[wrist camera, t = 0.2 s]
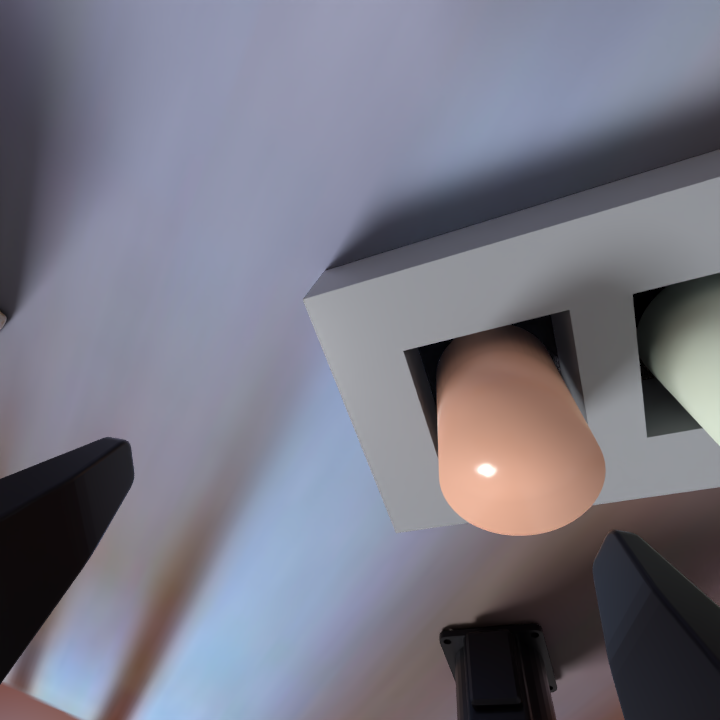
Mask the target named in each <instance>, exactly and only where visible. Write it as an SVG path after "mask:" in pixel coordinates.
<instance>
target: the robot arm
mask: <svg viewBox="0 0 720 720" xmlns="http://www.w3.org/2000/svg"><path fill="white" fill-rule="evenodd" d="M133 480H134V466H133V459H132V451H131V446H130V444H129V442H128V441H126V440H123V439H118V438H112V437H105V438H102V439H100V440H97V441H95V442H92V443H90V444H87V445H85V446H82V447H80V448H77V449H75V450H72V451H70V452H67V453H65V454H62V455H59V456H57V457H54V458H52V459H49V460H47V461H44V462H42V463H39V464H37V465H34V466H32V467H29V468H27V469H24V470H22V471H19V472H17V473H14V474H12V475H9V476H6V477H4V478H1V479H0V684H1V683H2V681H3V680H4V678H5V677H6V676H7V674H8V673H9V671H10V670H11V669H12V667H13V666H14V664H15V663H16V662H17V660H18V659H19V657H20V656H21V655H22V653H23V652H24V650H25V649H26V648H27V646H28V645H29V643H30V642H31V640H32V639H33V638H34V636H35V635H36V633H37V632H38V631H39V629H40V628H41V626H42V625H43V624H44V622H45V621H46V619H47V618H48V617H49V615H50V614H51V612H52V611H53V610H54V608H55V607H56V605H57V604H58V603H59V601H60V600H61V598H62V597H63V595H64V594H65V593H66V591H67V590H68V588H69V587H70V586H71V584H72V583H73V581H74V580H75V579H76V577H77V576H78V574H79V573H80V572H81V570H82V569H83V567H84V566H85V564H86V563H87V561H88V560H89V558H90V557H91V555H92V554H93V552H94V550H95V549H96V547H97V546H98V544H99V542H100V540H101V539H102V537H103V535H104V533H105V532H106V530H107V528H108V526H109V525H110V523H111V521H112V519H113V518H114V516H115V514H116V512H117V511H118V509H119V507H120V505H121V504H122V502H123V500H124V498H125V497H126V495H127V493H128V491H129V490H130V488H131V486H132V483H133ZM593 578H594V584H595V589H596V595H597V600H598V606H599V612H600V617H601V623H602V628H603V634H604V640H605V645H606V651H607V655H608V660H609V665H610V669H611V672H612V676H613V680H614V683H615V687H616V690H617V694H618V697H619V701H620V704H621V708H622V712H623V715H624V719H625V720H720V607H719V606H718V605H716V604H715V603H714V602H713V601H712V600H711V599H710V598H709V597H707V596H706V595H705V594H704V593H703V592H702V591H701V590H699V589H698V588H697V587H696V586H695V585H694V584H693V583H692V582H690V581H689V580H688V579H687V578H686V577H685V576H684V575H682V574H681V573H680V572H679V571H678V570H677V569H676V568H675V567H673V566H672V565H671V564H670V563H669V562H668V561H667V560H666V559H664V558H663V557H662V556H661V555H660V554H659V553H658V552H656V551H655V550H654V549H653V548H652V547H651V546H650V545H649V544H647V543H646V542H645V541H644V540H643V539H642V538H641V537H639V536H638V535H636V534H634V533H631V532H625V531H620V530H611V531H609V532H608V533H607V535H606V537H605V539H604V541H603V543H602V545H601V547H600V549H599V551H598V553H597V556H596V558H595V560H594V563H593ZM440 644H441V647H442V649H443V652H444V654H445V657H446V659H447V662H448V664H449V667H450V669H451V672H452V674H453V677H454V679H455V682H456V697H457V718H458V720H556V716H555V711H554V706H553V702H552V697H551V692H554V691H556V690H557V685H556V680H555V677H554V673H553V669H552V665H551V661H550V657H549V654H548V650H547V646H546V642H545V638H544V635H543V631H542V628H541V626H539V625H537V624H523V625H511V626H499V627H487V628H475V629H463V630H451V631H443V632H441V633H440Z"/></svg>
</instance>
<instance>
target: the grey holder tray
mask: <svg viewBox="0 0 720 720" xmlns="http://www.w3.org/2000/svg"><path fill="white" fill-rule="evenodd" d="M716 273H720V149H719V150H715V151H712V152H709V153H706V154H702V155H699V156H696V157H693V158H689V159H686V160H683V161H680V162H677V163H673V164H670V165H667V166H664V167H660V168H657V169H654V170H651V171H647V172H644V173H641V174H638V175H634V176H631V177H628V178H625V179H621V180H618V181H615V182H612V183H608V184H605V185H602V186H599V187H595V188H592V189H589V190H586V191H582V192H579V193H576V194H573V195H569V196H566V197H563V198H560V199H556V200H553V201H550V202H547V203H543V204H540V205H537V206H534V207H530V208H527V209H524V210H521V211H517V212H514V213H511V214H508V215H504V216H501V217H498V218H495V219H491V220H488V221H485V222H482V223H478V224H475V225H472V226H469V227H465V228H462V229H459V230H456V231H452V232H449V233H446V234H443V235H439V236H436V237H433V238H430V239H426V240H423V241H420V242H417V243H413V244H410V245H407V246H404V247H400V248H397V249H394V250H391V251H387V252H384V253H381V254H378V255H374V256H371V257H368V258H365V259H361V260H358V261H355V262H352V263H348V264H345V265H342V266H339V267H335V268H332V269H329V270H326V271H324V272H323V273H322V275H321V276H320V277H319V279H318V280H317V281H316V283H315V284H314V285H313V287H312V288H311V289H310V291H309V292H308V293H307V295H306V296H305V297H304V299H303V301H304V304H305V306H306V309H307V311H308V314H309V316H310V319H311V321H312V324H313V326H314V329H315V331H316V334H317V336H318V339H319V341H320V344H321V346H322V349H323V351H324V354H325V356H326V359H327V361H328V364H329V366H330V369H331V371H332V374H333V376H334V379H335V381H336V384H337V387H338V389H339V392H340V394H341V397H342V399H343V402H344V404H345V407H346V409H347V412H348V414H349V417H350V419H351V422H352V424H353V427H354V429H355V432H356V434H357V437H358V439H359V442H360V444H361V447H362V449H363V452H364V454H365V457H366V459H367V462H368V464H369V467H370V469H371V472H372V474H373V477H374V479H375V482H376V484H377V487H378V489H379V492H380V494H381V497H382V499H383V502H384V504H385V507H386V509H387V512H388V514H389V517H390V519H391V522H392V524H393V527H394V529H395V532H396V533H401V532H408V531H415V530H422V529H429V528H436V527H443V526H450V525H457V524H464V523H469V522H467V521H466V520H465V519H463V518H462V517H460V516H459V515H458V514H457V513H456V512H455V511H454V510H453V509H452V508H451V506H450V505H449V504H448V502H447V501H446V499H445V497H444V495H443V493H442V490H441V487H440V482H439V461H438V426H437V408H436V404H435V401H434V398H433V395H432V391H431V388H430V385H429V382H428V379H427V375H426V372H425V369H424V366H423V362H422V359H421V356H420V353H419V349H418V347H421V346H425V345H429V344H433V343H437V342H441V341H445V340H449V339H453V338H457V337H461V336H465V335H469V334H473V333H477V332H481V331H486V330H490V329H494V328H498V327H502V326H506V325H510V324H514V323H518V322H522V321H526V320H530V319H534V318H538V317H542V316H546V315H550V314H551V319H552V325H553V331H554V336H555V342H556V347H557V353H558V359H559V364H560V370H561V375H562V378H563V380H564V382H565V384H566V386H567V388H568V389H569V391H570V393H571V395H572V397H573V399H574V400H575V402H576V404H577V406H578V408H579V410H580V411H581V413H582V415H583V417H584V419H585V421H586V423H587V424H588V426H589V428H590V430H591V432H592V434H593V435H594V437H595V439H596V441H597V443H598V445H599V446H600V449H601V451H602V453H603V456H604V460H605V468H606V473H605V481H604V484H603V488H602V490H601V492H600V494H599V496H598V498H597V499H596V501H595V502H594V503H593V505H597V504H604V503H611V502H618V501H625V500H632V499H639V498H646V497H653V496H660V495H667V494H674V493H681V492H688V491H695V490H702V489H709V488H716V487H720V446H719V445H718V444H717V443H716V442H715V441H714V439H713V438H712V437H711V436H710V435H709V434H708V433H707V432H706V431H705V430H704V429H703V428H702V427H701V425H700V424H699V423H698V422H697V421H696V420H695V419H694V418H693V417H692V416H691V415H690V414H689V413H688V411H687V410H686V409H685V408H684V407H683V406H682V405H681V404H680V403H679V402H678V401H677V400H676V398H675V397H674V396H673V395H672V394H671V393H670V392H669V391H668V390H667V389H666V388H665V387H664V386H663V384H662V383H661V382H660V381H659V380H658V379H657V378H652V379H647V380H642V381H641V373H640V363H639V354H638V344H637V334H636V324H635V314H634V305H633V295H632V294H635V293H639V292H643V291H647V290H651V289H655V288H659V287H663V286H667V285H671V284H675V283H679V282H684V281H688V280H692V279H696V278H700V277H704V276H708V275H712V274H716Z"/></svg>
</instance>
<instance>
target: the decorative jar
mask: <svg viewBox="0 0 720 720" xmlns="http://www.w3.org/2000/svg"><path fill="white" fill-rule="evenodd" d="M6 320H7V318H6V316H5V315H4V314H3V313H2V312H1V311H0V330H1V329H2V328H3V326H4V325H5V323H6Z"/></svg>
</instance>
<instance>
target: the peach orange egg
mask: <svg viewBox="0 0 720 720" xmlns="http://www.w3.org/2000/svg"><path fill="white" fill-rule="evenodd" d="M436 390H437V426H438V461H439V482H440V487H441V490H442V493H443V495H444V497H445V499H446V501H447V502H448V504H449V505H450V506H451V508H452V509H453V510H454V511H455V512H456V513H457V514H458V515H459V516H460V517H462V518H463V519H465V520H466V521H467V522H469V523H471V524H473V525H475V526H477V527H479V528H481V529H484V530H487V531H490V532H493V533H498V534H503V535H513V536H525V535H535V534H541V533H545V532H549V531H553V530H555V529H558V528H561V527H563V526H565V525H567V524H569V523H571V522H573V521H574V520H576V519H577V518H579V517H580V516H581V515H582V514H584V513H585V512H586V511H587V510H588V509H589V508H590V507H591V506H592V505H593V503H594V502H595V501H596V499H597V498H598V496H599V494H600V492H601V490H602V488H603V484H604V481H605V473H606V468H605V460H604V456H603V453H602V451H601V449H600V446H599V445H598V443H597V441H596V439H595V437H594V435H593V434H592V432H591V430H590V428H589V426H588V424H587V423H586V421H585V419H584V417H583V415H582V413H581V411H580V410H579V408H578V406H577V404H576V402H575V400H574V399H573V397H572V395H571V393H570V391H569V389H568V388H567V386H566V384H565V382H564V380H563V378H562V376H561V375H560V373H559V371H558V369H557V367H556V365H555V364H554V362H553V360H552V358H551V356H550V354H549V353H548V351H547V349H546V348H545V346H544V345H543V343H542V342H541V341H540V340H539V339H538V338H537V337H536V336H534V335H533V334H532V333H530V332H528V331H527V330H524V329H522V328H520V327H517V326H513V325H506V326H502V327H498V328H494V329H490V330H486V331H481V332H477V333H473V334H469V335H465V336H461V337H457V338H455V339H454V340H453V341H452V342H451V343H450V344H449V345H448V346H447V347H446V349H445V350H444V351H443V353H442V355H441V357H440V359H439V362H438V365H437V371H436Z"/></svg>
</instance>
